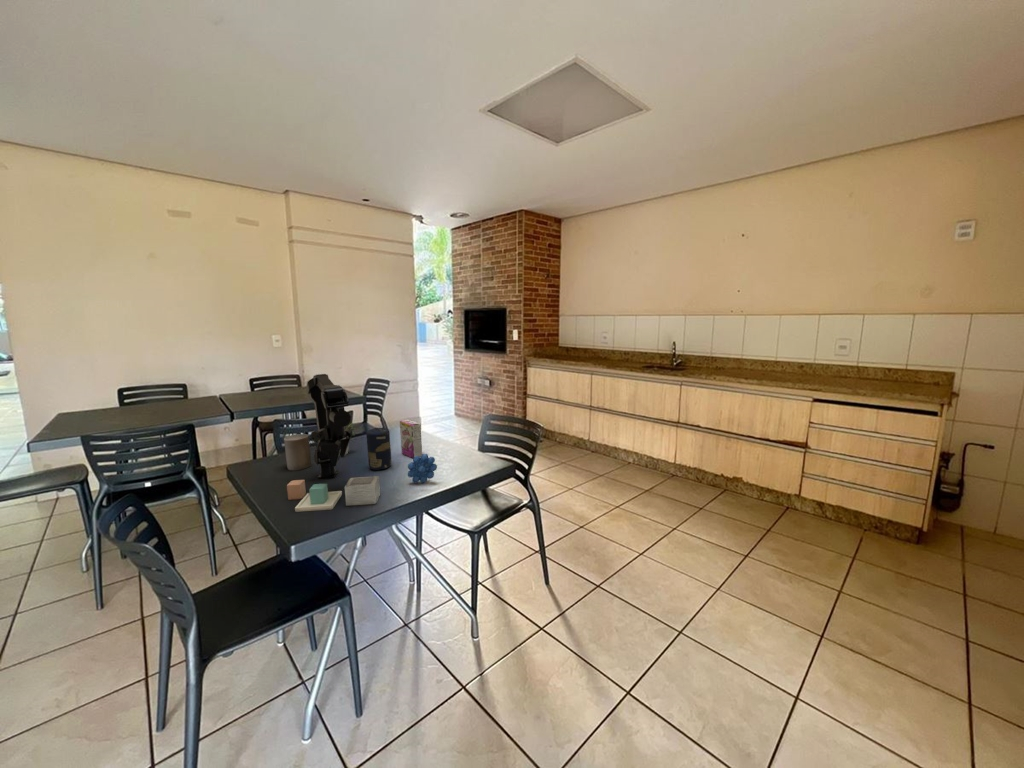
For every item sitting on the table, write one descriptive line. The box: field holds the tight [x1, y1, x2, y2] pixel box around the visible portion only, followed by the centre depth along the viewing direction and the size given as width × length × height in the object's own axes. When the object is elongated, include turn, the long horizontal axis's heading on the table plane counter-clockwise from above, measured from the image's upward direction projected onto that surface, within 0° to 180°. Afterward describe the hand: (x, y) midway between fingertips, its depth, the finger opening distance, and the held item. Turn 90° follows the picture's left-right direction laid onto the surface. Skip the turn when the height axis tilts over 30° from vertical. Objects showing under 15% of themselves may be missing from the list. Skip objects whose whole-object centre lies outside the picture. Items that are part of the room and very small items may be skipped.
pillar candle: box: [283, 433, 313, 471], centre depth 180 cm, size 10×10×15 cm
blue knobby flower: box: [407, 453, 438, 484], centre depth 161 cm, size 12×7×12 cm, turn 92°
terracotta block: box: [286, 479, 307, 501], centre depth 150 cm, size 4×4×6 cm
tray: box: [294, 490, 343, 513], centre depth 144 cm, size 12×12×1 cm
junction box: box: [344, 475, 381, 507], centre depth 146 cm, size 8×10×7 cm
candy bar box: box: [399, 419, 423, 459], centre depth 193 cm, size 11×5×16 cm, turn 45°
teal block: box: [308, 483, 329, 504], centre depth 144 cm, size 4×4×6 cm
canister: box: [365, 427, 392, 471], centre depth 177 cm, size 10×10×18 cm
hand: (338, 461), depth 152 cm, fingers open, 9 cm apart
